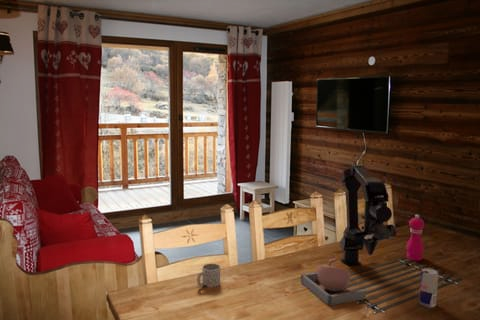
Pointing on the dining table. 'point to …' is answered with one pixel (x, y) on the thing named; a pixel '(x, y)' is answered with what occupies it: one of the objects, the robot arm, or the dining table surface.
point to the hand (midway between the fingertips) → (370, 254)
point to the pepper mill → (415, 239)
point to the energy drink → (428, 287)
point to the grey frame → (324, 296)
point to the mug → (210, 275)
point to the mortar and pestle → (333, 277)
